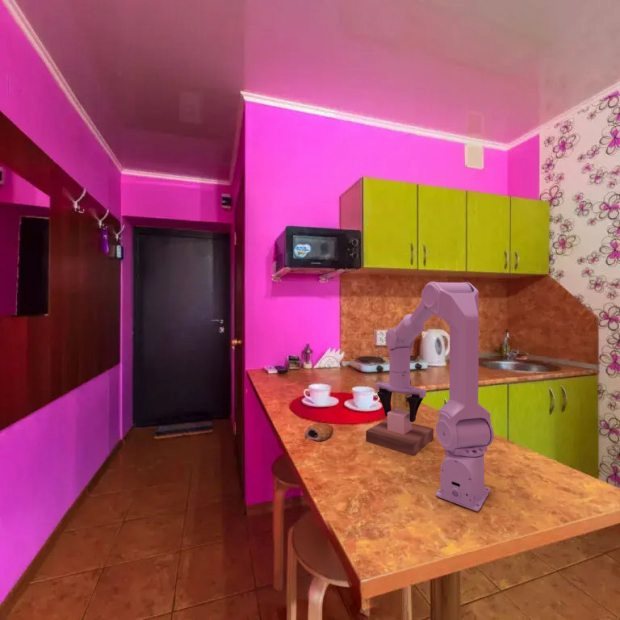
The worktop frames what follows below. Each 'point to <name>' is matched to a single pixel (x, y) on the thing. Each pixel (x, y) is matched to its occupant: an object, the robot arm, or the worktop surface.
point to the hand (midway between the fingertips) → (399, 418)
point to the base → (400, 438)
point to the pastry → (319, 431)
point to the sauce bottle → (401, 401)
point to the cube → (399, 421)
